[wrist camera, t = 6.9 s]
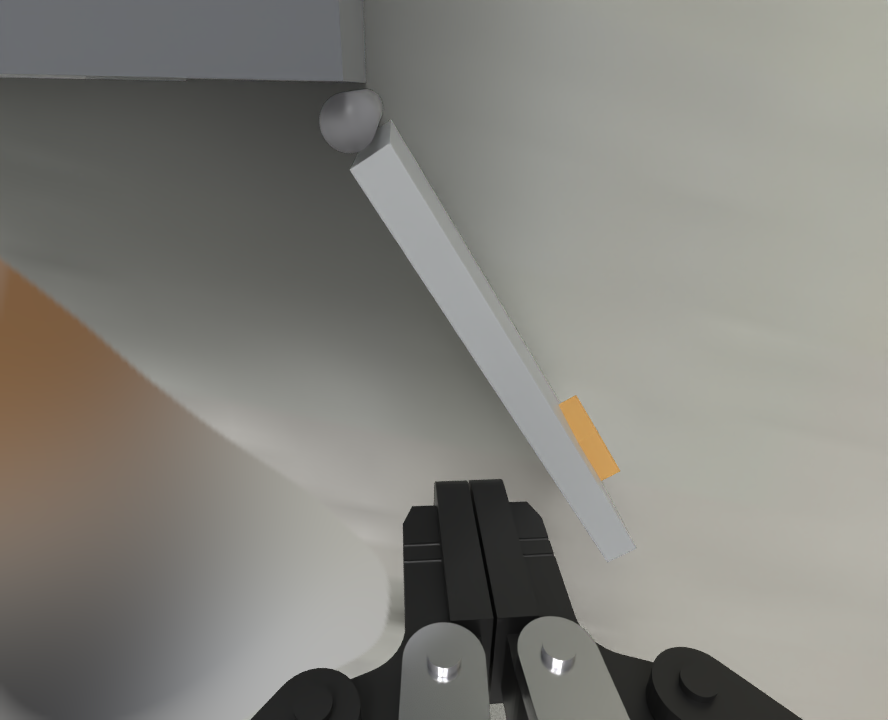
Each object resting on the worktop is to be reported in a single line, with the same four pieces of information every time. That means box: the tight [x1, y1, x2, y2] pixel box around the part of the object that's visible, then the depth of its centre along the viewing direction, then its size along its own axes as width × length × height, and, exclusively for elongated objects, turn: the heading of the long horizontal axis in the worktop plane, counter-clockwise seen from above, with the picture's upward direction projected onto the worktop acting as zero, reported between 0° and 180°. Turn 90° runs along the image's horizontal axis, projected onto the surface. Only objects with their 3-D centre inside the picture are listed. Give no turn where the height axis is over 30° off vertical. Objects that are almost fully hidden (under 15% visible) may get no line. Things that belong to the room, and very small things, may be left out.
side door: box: [319, 89, 636, 562], centre depth 14 cm, size 2×12×7 cm, turn 31°
